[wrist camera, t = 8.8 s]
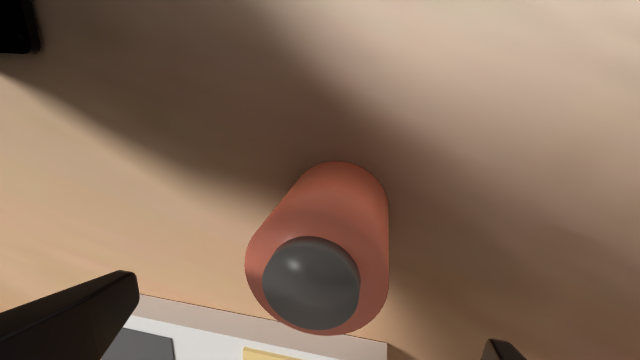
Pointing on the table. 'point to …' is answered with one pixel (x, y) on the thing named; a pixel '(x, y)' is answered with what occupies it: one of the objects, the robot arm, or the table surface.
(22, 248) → the table surface
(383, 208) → the cap
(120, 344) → the board
